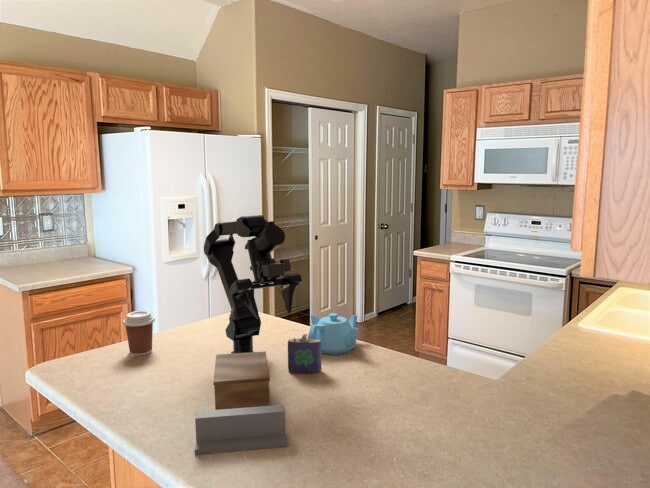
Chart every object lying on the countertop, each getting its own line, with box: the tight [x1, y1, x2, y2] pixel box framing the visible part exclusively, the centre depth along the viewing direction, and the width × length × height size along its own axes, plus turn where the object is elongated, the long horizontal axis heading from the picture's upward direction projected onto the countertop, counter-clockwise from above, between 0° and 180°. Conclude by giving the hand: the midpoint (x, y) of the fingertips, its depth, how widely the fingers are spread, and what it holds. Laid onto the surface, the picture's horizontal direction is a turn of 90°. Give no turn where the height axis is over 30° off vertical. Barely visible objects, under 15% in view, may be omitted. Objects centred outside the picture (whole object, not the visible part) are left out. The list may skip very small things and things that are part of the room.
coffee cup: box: [122, 310, 156, 357], centre depth 153 cm, size 9×9×12 cm
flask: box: [287, 333, 322, 375], centre depth 137 cm, size 9×3×11 cm, turn 88°
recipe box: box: [212, 350, 271, 410], centre depth 120 cm, size 16×12×9 cm
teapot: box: [307, 312, 359, 355], centre depth 156 cm, size 15×15×11 cm
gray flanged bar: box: [194, 404, 288, 455], centre depth 102 cm, size 6×18×6 cm, turn 99°
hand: (274, 315), depth 130 cm, fingers open, 9 cm apart
